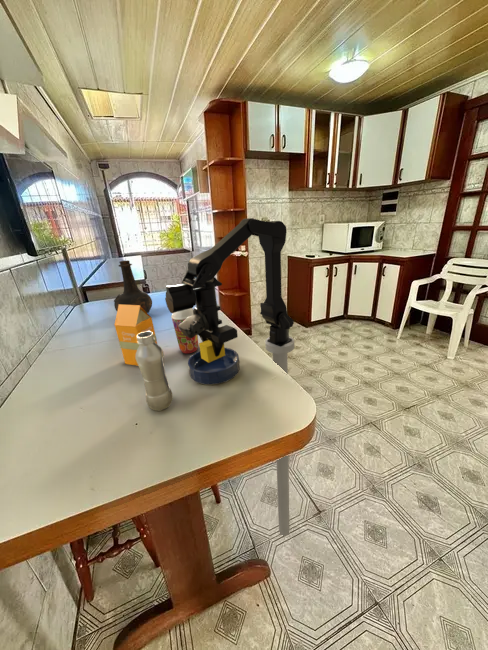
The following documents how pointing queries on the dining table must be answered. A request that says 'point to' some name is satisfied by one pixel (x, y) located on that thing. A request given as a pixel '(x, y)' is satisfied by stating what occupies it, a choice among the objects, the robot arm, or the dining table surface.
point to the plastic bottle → (153, 372)
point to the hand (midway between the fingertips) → (213, 353)
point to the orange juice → (131, 329)
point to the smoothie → (184, 342)
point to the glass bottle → (131, 290)
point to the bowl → (214, 368)
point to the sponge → (209, 351)
